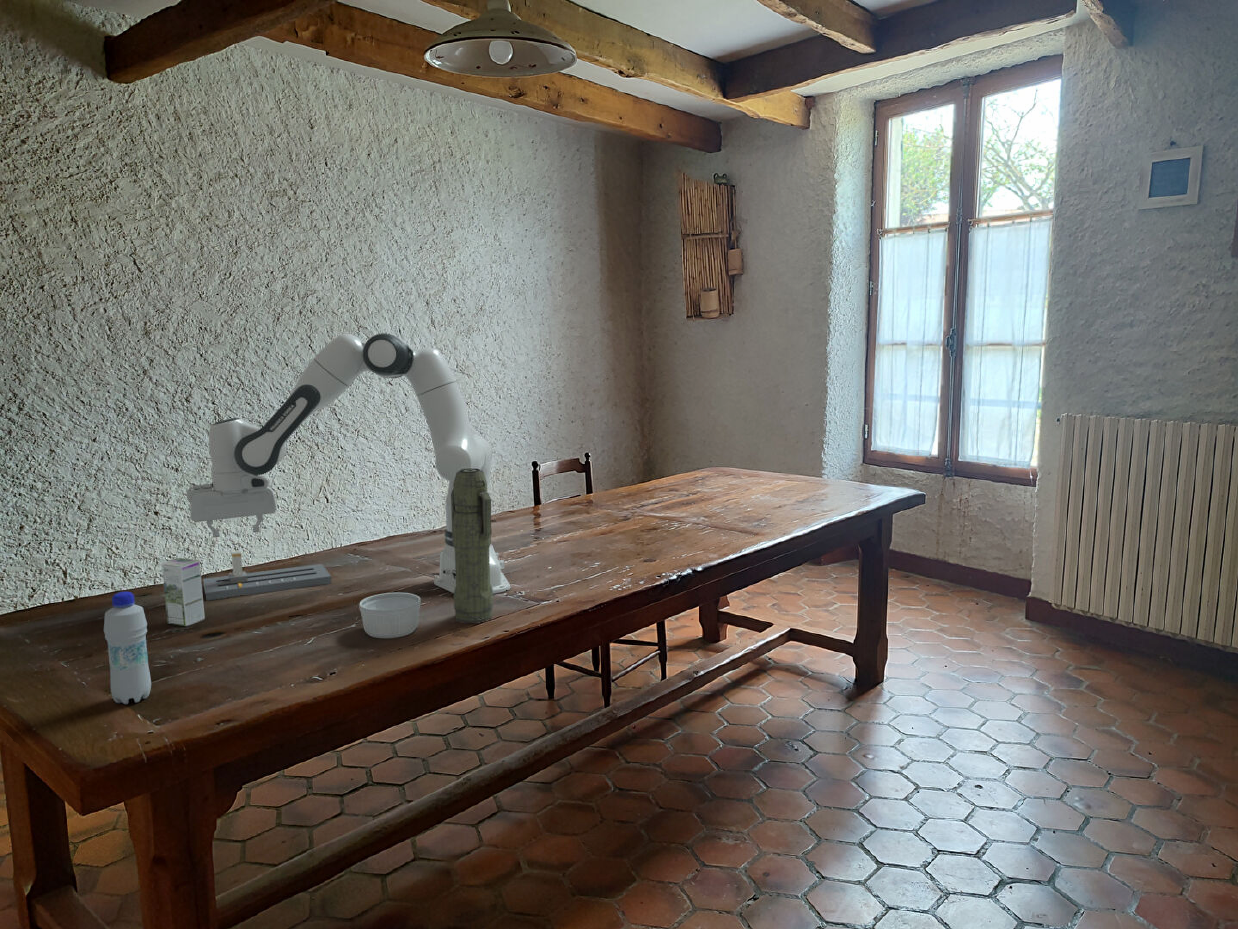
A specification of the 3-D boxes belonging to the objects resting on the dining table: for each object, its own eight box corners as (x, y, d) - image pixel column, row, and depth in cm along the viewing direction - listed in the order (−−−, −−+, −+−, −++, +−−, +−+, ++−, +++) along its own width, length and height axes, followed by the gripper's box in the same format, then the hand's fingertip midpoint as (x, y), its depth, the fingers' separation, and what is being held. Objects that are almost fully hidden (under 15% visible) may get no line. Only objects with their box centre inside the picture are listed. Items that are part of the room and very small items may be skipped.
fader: (247, 581, 214) (245, 553, 213) (230, 583, 213) (228, 555, 211) (245, 576, 219) (243, 549, 218) (229, 578, 217) (226, 551, 216)
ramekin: (398, 617, 194) (397, 588, 193) (434, 629, 186) (433, 599, 185) (348, 632, 184) (347, 602, 183) (384, 645, 176) (382, 614, 175)
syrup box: (206, 619, 193) (201, 558, 190) (185, 627, 187) (180, 565, 185) (186, 616, 194) (182, 556, 192) (165, 624, 189) (160, 562, 187)
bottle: (122, 691, 153) (112, 587, 150) (160, 690, 153) (151, 586, 150) (103, 707, 146) (92, 598, 143) (142, 706, 147) (132, 597, 144)
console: (331, 583, 221) (331, 575, 220) (206, 600, 206) (205, 591, 206) (322, 570, 233) (321, 562, 232) (203, 586, 218) (202, 577, 218)
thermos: (481, 627, 187) (477, 474, 181) (442, 618, 193) (437, 470, 187) (506, 616, 194) (502, 469, 189) (467, 608, 200) (463, 465, 195)
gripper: (186, 487, 204) (191, 542, 206) (275, 479, 214) (279, 531, 216) (185, 484, 209) (190, 537, 211) (272, 476, 219) (276, 527, 221)
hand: (236, 534), depth 214 cm, fingers open, 8 cm apart
